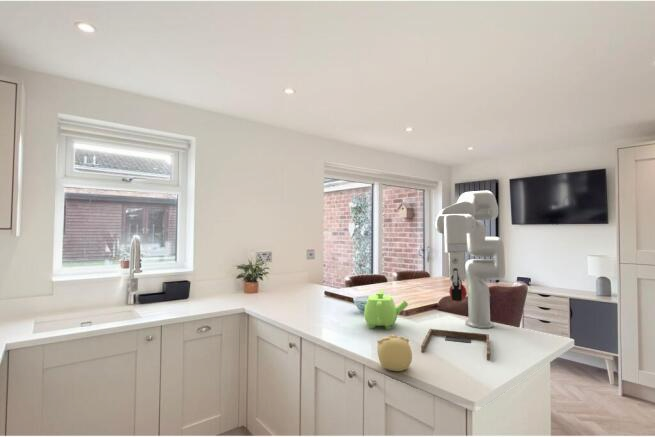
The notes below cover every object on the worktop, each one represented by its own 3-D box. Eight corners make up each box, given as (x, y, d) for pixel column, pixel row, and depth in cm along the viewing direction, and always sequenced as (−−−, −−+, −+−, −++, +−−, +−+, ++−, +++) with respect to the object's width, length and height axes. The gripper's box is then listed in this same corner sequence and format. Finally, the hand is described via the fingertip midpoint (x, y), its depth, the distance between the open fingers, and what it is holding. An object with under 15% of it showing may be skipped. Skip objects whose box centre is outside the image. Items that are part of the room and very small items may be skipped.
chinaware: (349, 310, 202) (348, 297, 202) (371, 307, 208) (370, 294, 208) (362, 316, 188) (361, 302, 188) (385, 313, 194) (384, 299, 195)
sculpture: (406, 360, 126) (406, 330, 126) (416, 374, 114) (415, 341, 114) (375, 361, 126) (374, 331, 126) (381, 375, 114) (380, 342, 114)
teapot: (409, 333, 157) (408, 298, 158) (362, 331, 162) (361, 297, 162) (408, 318, 182) (407, 288, 182) (367, 317, 186) (366, 287, 187)
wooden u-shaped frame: (429, 334, 155) (429, 328, 155) (489, 340, 145) (489, 334, 145) (421, 351, 134) (421, 345, 134) (490, 360, 124) (489, 353, 124)
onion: (447, 302, 125) (446, 280, 125) (453, 300, 129) (452, 278, 129) (463, 304, 121) (462, 281, 121) (469, 302, 125) (468, 279, 125)
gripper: (465, 250, 116) (467, 304, 116) (468, 246, 132) (469, 294, 131) (442, 250, 119) (444, 303, 119) (447, 246, 135) (448, 293, 134)
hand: (457, 298), depth 125 cm, fingers closed on onion, 5 cm apart
